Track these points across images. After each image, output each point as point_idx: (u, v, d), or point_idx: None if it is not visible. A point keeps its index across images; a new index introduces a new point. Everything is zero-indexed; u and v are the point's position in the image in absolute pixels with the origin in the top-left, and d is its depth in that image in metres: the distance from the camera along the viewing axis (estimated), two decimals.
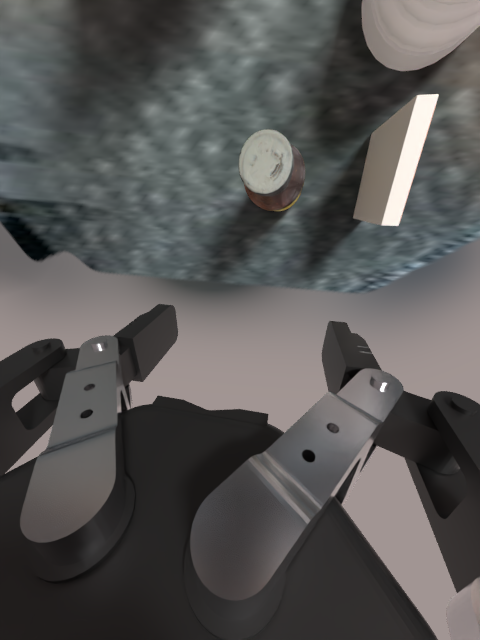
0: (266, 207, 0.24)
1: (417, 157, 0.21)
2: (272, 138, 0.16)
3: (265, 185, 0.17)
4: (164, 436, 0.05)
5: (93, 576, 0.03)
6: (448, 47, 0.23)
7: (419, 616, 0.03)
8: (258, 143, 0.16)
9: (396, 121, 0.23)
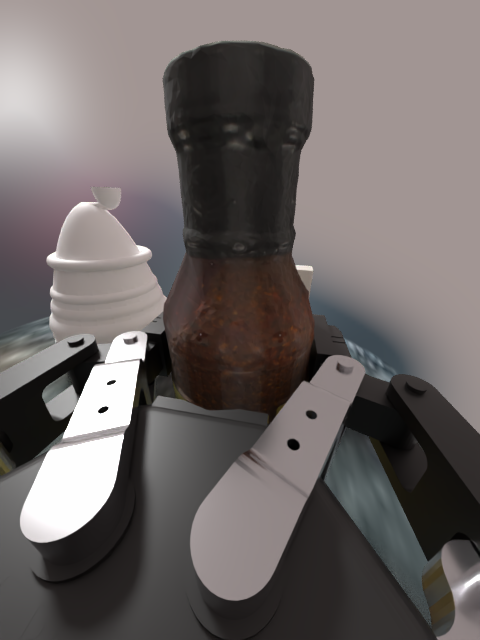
0: None
1: None
2: None
3: None
4: (164, 436, 0.05)
5: (81, 584, 0.03)
6: None
7: (419, 616, 0.03)
8: None
9: None
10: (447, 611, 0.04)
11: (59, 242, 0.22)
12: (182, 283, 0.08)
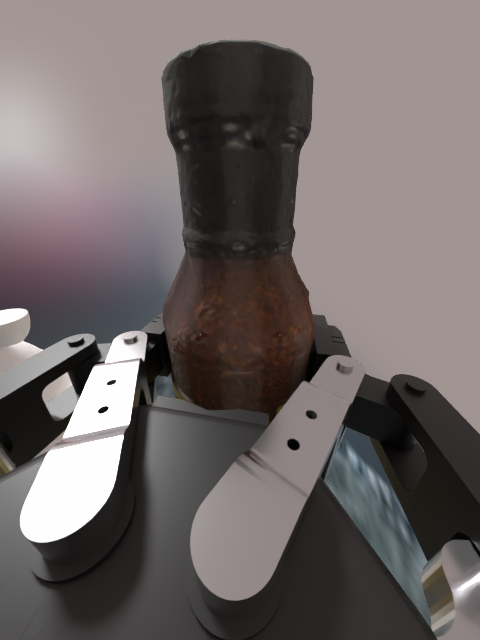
0: None
1: None
2: None
3: None
4: (164, 436, 0.05)
5: (81, 584, 0.03)
6: None
7: (419, 616, 0.03)
8: None
9: None
10: (447, 610, 0.04)
11: None
12: (182, 283, 0.08)
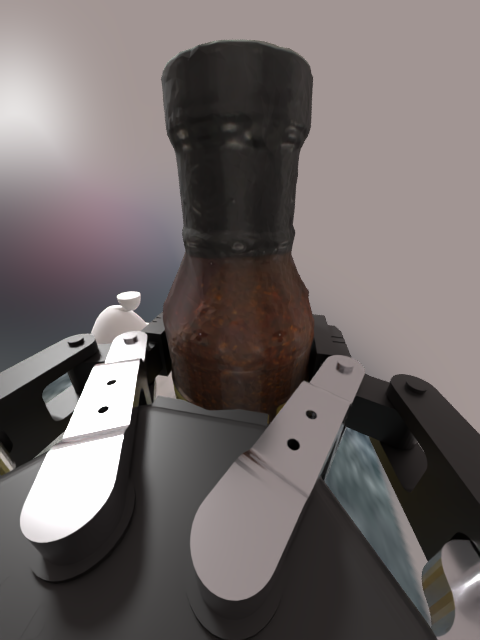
0: (311, 313, 0.08)
1: None
2: None
3: None
4: (164, 436, 0.05)
5: (81, 584, 0.03)
6: None
7: (419, 616, 0.03)
8: None
9: None
10: (447, 611, 0.04)
11: None
12: (182, 283, 0.08)
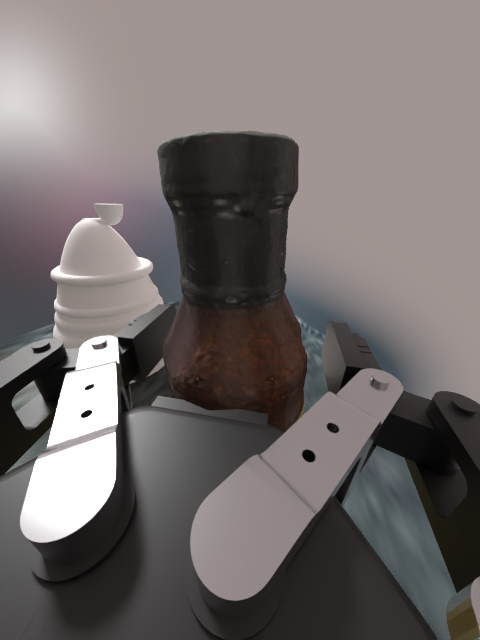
0: (304, 350, 0.09)
1: None
2: None
3: None
4: (164, 436, 0.05)
5: (93, 576, 0.03)
6: None
7: (419, 616, 0.03)
8: None
9: None
10: None
11: (63, 257, 0.23)
12: (180, 326, 0.08)
